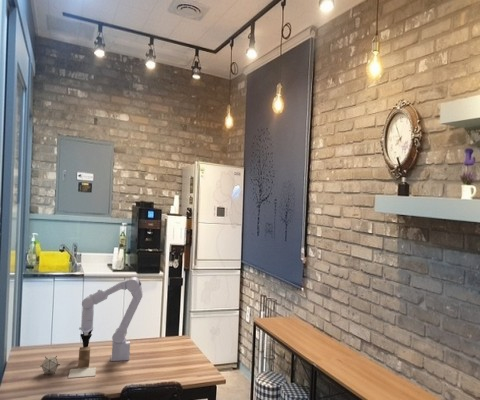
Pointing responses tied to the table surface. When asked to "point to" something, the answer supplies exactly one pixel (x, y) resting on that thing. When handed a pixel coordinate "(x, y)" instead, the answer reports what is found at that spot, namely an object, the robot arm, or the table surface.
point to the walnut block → (84, 357)
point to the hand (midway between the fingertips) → (86, 344)
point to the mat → (82, 372)
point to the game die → (50, 365)
